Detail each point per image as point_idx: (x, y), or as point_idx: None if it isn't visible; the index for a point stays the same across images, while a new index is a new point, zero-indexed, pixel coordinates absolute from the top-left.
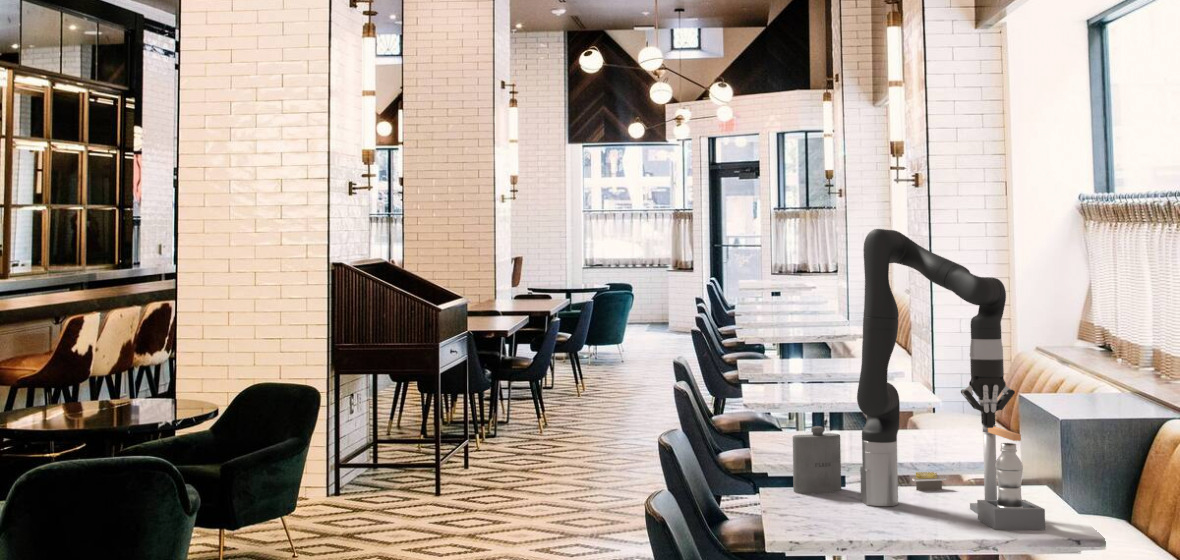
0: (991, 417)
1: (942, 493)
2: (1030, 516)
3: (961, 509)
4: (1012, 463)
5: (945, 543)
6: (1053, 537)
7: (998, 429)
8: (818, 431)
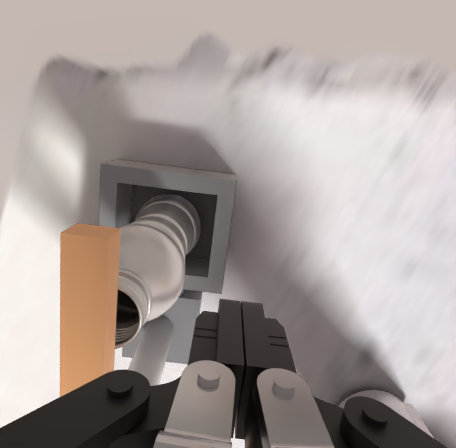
0: (231, 337)
1: None
2: (145, 166)
3: None
4: (140, 235)
5: (427, 60)
6: (137, 84)
7: None
8: None
